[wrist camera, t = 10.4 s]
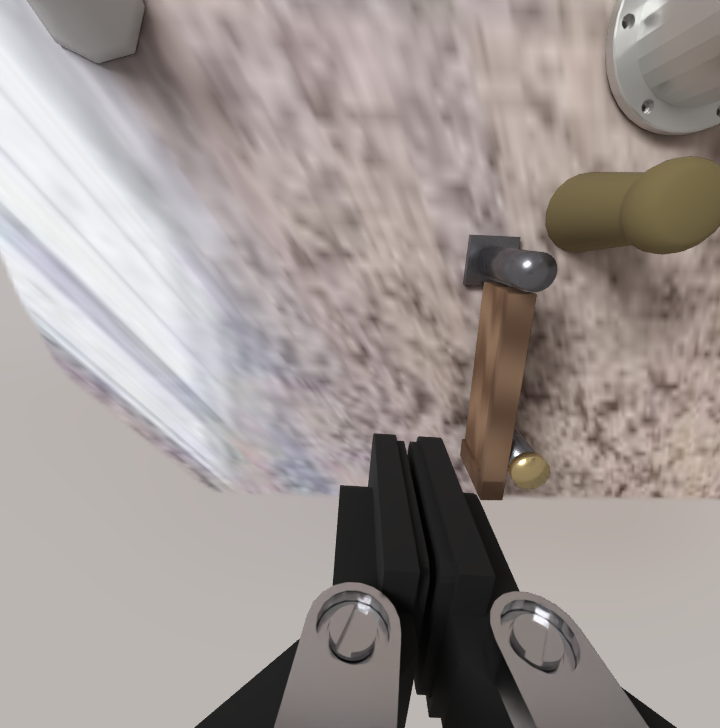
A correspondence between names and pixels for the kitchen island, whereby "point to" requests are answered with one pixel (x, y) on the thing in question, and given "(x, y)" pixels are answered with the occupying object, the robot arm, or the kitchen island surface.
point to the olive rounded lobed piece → (638, 208)
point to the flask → (92, 25)
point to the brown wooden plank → (496, 385)
